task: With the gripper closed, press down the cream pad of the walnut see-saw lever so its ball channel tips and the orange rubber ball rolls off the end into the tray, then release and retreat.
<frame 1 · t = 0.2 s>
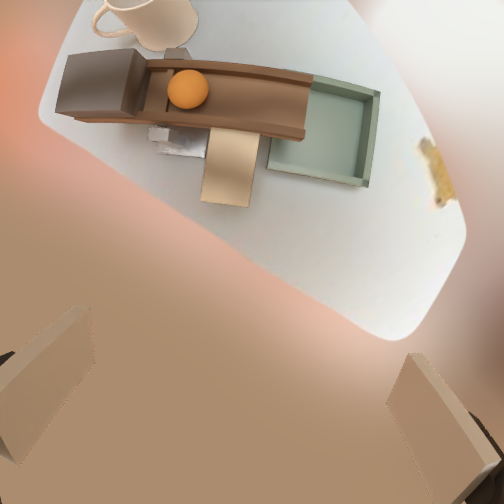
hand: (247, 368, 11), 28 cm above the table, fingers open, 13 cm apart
stand: (185, 127, 35), on the table
mug: (156, 30, 32), on the table
ball: (187, 89, 24), point 11 cm above the table, touching lever
tray: (320, 131, 35), on the table
lever: (175, 124, 24), point 12 cm above the table, hinge at 0.0°, touching ball
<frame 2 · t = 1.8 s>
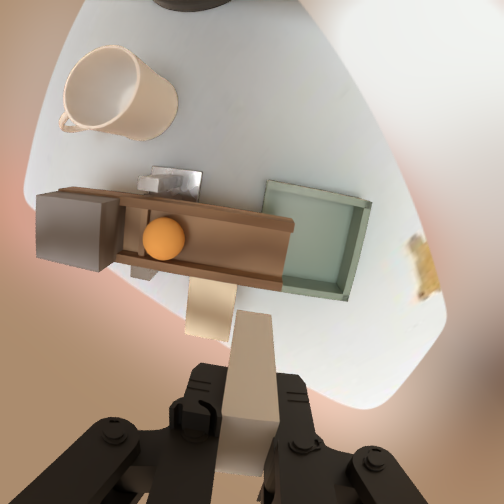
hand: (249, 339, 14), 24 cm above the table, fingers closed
stand: (170, 230, 37), on the table
mug: (133, 112, 33), on the table
ball: (163, 238, 25), point 11 cm above the table, touching lever
tray: (306, 236, 37), on the table
lever: (154, 274, 26), point 12 cm above the table, hinge at 0.0°, touching ball
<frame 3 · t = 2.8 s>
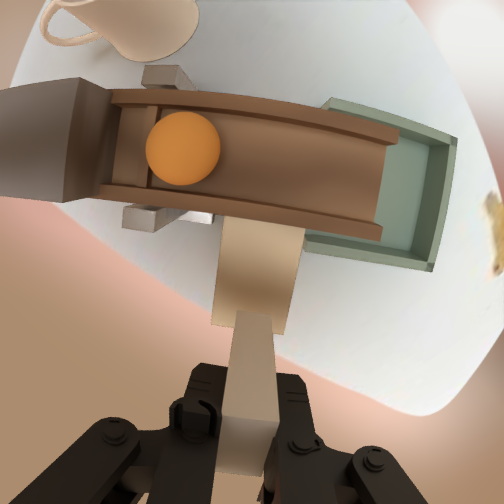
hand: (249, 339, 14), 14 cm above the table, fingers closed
stand: (183, 177, 25), on the table
mug: (139, 31, 22), on the table
ball: (182, 148, 14), point 11 cm above the table, touching lever
tray: (372, 186, 25), on the table
lever: (164, 214, 15), point 12 cm above the table, hinge at 0.0°, touching ball
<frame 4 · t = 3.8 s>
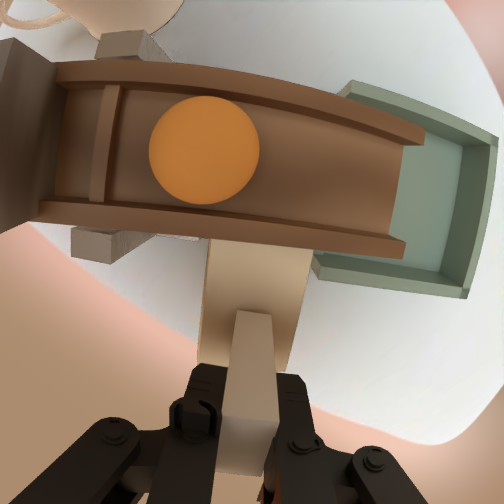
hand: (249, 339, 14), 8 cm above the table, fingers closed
stand: (164, 183, 20), on the table
mug: (116, 9, 17), on the table
ball: (203, 149, 10), point 10 cm above the table, tilted 59°, touching lever
tray: (398, 193, 20), on the table
lever: (134, 242, 10), point 11 cm above the table, hinge at -12.6°, touching ball, gripper
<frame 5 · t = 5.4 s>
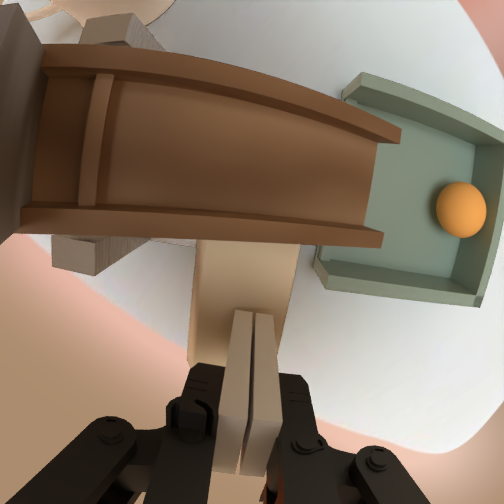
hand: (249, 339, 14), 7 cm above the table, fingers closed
stand: (158, 183, 19), on the table
mug: (110, 2, 15), on the table
ball: (461, 209, 16), point 2 cm above the table, tilted 122°, touching tray
tray: (409, 195, 18), on the table
lever: (138, 250, 9), point 10 cm above the table, hinge at -26.6°, touching gripper
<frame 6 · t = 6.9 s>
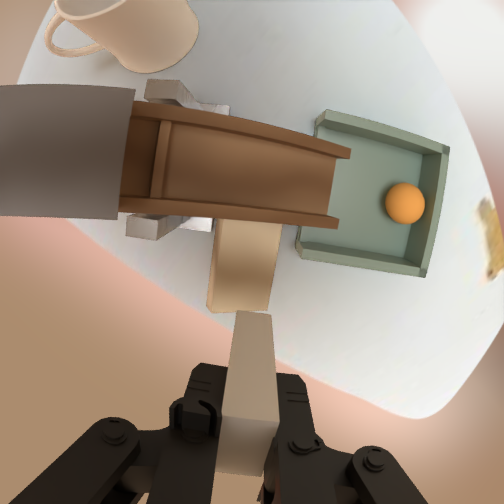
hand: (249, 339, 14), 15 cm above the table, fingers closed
stand: (183, 187, 26), on the table
mug: (140, 42, 23), on the table
ball: (405, 203, 24), point 2 cm above the table, tilted 126°, touching tray
tray: (367, 194, 26), on the table
lever: (188, 222, 17), point 10 cm above the table, hinge at -26.6°
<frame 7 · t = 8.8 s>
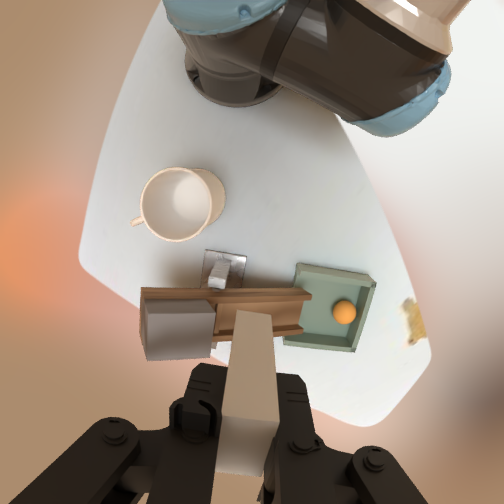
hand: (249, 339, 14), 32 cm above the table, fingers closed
stand: (219, 300, 47), on the table
mug: (185, 201, 44), on the table
ball: (344, 312, 45), point 2 cm above the table, tilted 132°, touching tray
tray: (324, 304, 47), on the table
lever: (231, 344, 37), point 10 cm above the table, hinge at -26.6°
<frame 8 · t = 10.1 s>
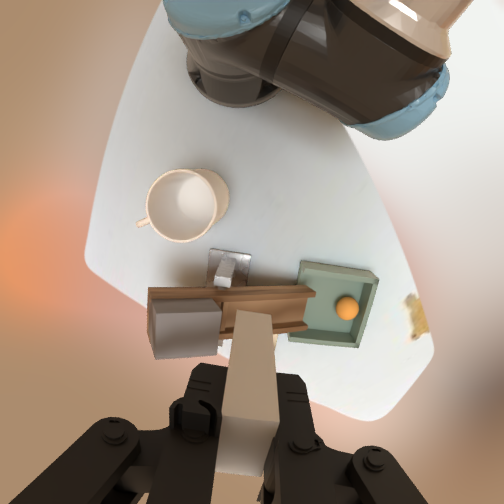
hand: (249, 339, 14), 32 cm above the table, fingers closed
stand: (224, 298, 48), on the table
mug: (190, 201, 45), on the table
ball: (347, 308, 45), point 2 cm above the table, tilted 136°, touching tray
tray: (328, 300, 48), on the table
lever: (237, 341, 38), point 10 cm above the table, hinge at -26.6°
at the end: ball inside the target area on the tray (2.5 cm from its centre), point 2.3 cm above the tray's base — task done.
